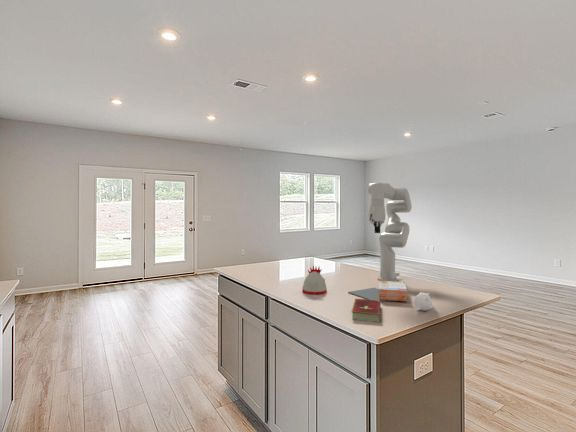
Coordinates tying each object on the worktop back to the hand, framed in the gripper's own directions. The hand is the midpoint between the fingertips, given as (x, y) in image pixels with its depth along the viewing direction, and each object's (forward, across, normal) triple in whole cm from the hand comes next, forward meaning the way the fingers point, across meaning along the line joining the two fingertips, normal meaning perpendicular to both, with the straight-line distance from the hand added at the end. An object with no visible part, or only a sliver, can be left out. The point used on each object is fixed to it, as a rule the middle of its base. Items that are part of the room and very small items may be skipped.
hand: (377, 232), depth 197 cm
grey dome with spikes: (+33, +40, -9) cm, 53 cm away
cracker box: (+30, +2, +14) cm, 33 cm away
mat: (+33, +15, +14) cm, 39 cm away
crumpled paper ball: (+33, +13, +44) cm, 56 cm away
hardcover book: (+34, +41, +34) cm, 63 cm away
